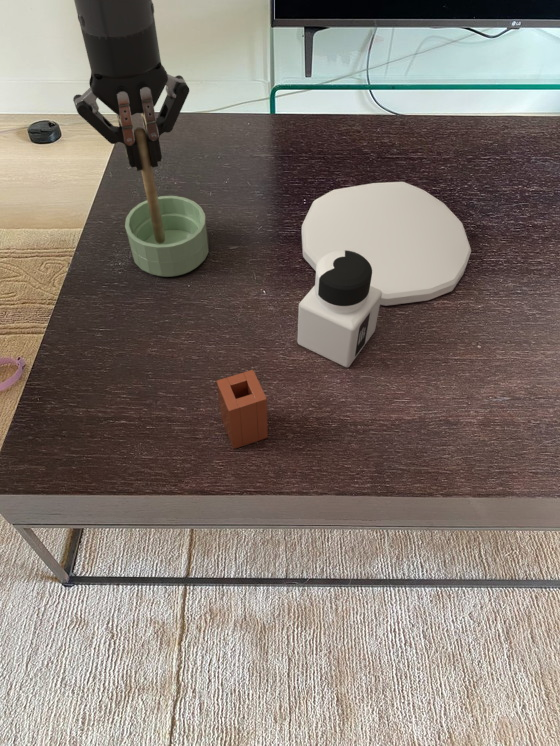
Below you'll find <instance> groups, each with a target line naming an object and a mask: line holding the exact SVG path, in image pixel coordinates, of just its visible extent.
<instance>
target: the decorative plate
mask: <svg viewBox="0 0 560 746" xmlns="http://www.w3.org/2000/svg"><path fill="white" fill-rule="evenodd" d="M300 232H301V248H302V258H303V259H304V260H305V261H306V262H307V264H308V265H309V266H311V268H312V269H313V270H314V271H315V272H316V266H317V263H318V262H319V260H320V259H321V258H322V257H323V256H325V255H326V254H328V253H330V252H333V251H339V250H347V251H352V252H355V253H358V254H360V255H361V256H363V257H364V258H365V259H366V260H367V261H368V262H369V263H370V265H371V267H372V277H371V283H370V286H372V287H374V288H377V289H379V290H381V291H382V296H381V301H380V306H381V305H382V306H386V307H387V306H394V305H401V304H409V303H410V304H411V303H418V302H427V301H430V300H433V299H435V298H437V297H440V296H442V295H445V294H448V293H451V292H453V291H454V289H455V288H456V286H457V285H458V283H459V282H460V280H461V278H462V277H463V275H464V273H465V271H466V268H467V265H468V262H469V260H470V257H471V253H472V248H471V246H470V242H469V240H468V236H467V233H466V230H465V227H464V224H463V222H462V221H461V220H460V219H459V218H458V216H456V215H455V214H454V212H452V211H451V209H450V208H449V207H448V206H447V205H446V204H445V203H444V202H443V201H441V200H440V199H438V198H436V197H435V196H434V195H432V194H430V193H429V192H428V191H426V190H424V189H422V188H420V187H417V186H415V185H412V184H410V183H408V182H405V181H389V182H372V183H366V184H360V185H354V186H347V187H342V188H336V189H333V190H330V191H329V192H327V193H325V194H323V195H321V196H319V197H318V198H316V199H315V200H314V201H312V203H311V205H310V208H309V210H308V212H307V213H306V216H305V217H304V220H303V222H302V224H301V231H300Z"/></svg>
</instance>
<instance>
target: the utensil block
mask: <svg viewBox="0 0 560 746" xmlns="http://www.w3.org/2000/svg"><path fill="white" fill-rule="evenodd" d="M216 388H217V396H218V403H219V410H220V418H221V422H222V425H223V428H224V430H225V432H226V435H227V438H228V440H229V443H230V445H231V448H232V450H236V449H239V448H241V447H244V446H247V445H251V444H253V443H256V442H259V441H262V440H264V439H265V440H266V439H268V438H269V435H268V434H269V433H268V431H269V430H268V429H269V428H268V398H267V396H266V393H265V392H264V389H263V387H262V385H261V383H260V381H259V378H258V377H257V375H256V372H255V370H254V369H250V370H247V371H244V372H240V373H237V374H233V375H230V376H228V377H227V376H226V377H223V378H221V379H220V378H219V379H217V380H216Z"/></svg>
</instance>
